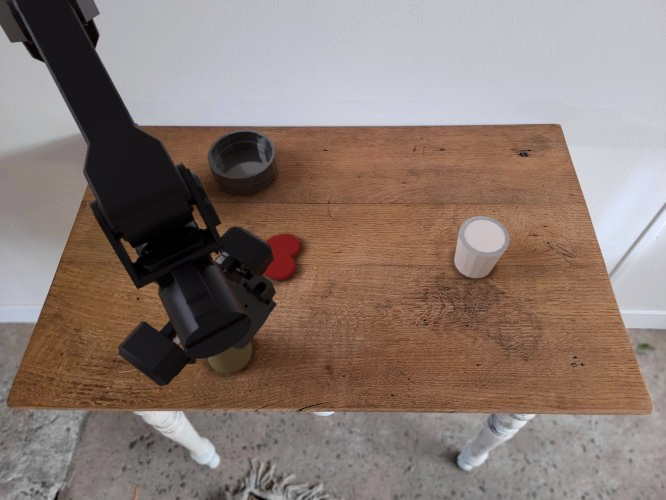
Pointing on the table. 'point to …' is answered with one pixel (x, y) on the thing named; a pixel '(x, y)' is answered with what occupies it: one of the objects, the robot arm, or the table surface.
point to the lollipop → (283, 256)
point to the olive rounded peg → (231, 359)
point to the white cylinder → (480, 246)
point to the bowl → (243, 161)
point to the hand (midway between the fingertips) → (218, 330)
